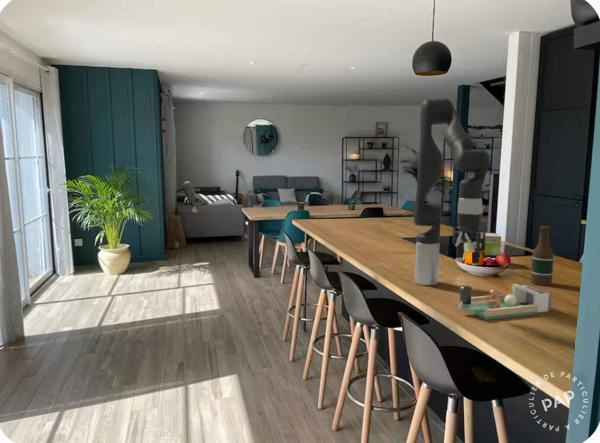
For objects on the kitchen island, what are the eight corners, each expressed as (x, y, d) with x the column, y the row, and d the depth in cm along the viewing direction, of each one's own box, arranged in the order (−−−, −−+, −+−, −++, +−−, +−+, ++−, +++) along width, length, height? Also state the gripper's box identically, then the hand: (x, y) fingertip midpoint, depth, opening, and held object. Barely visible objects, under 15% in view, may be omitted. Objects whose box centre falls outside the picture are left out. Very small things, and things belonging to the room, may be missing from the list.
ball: (501, 304, 164) (502, 293, 164) (511, 303, 165) (511, 292, 165) (509, 308, 160) (510, 297, 160) (519, 307, 161) (519, 296, 161)
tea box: (467, 265, 229) (468, 234, 227) (463, 260, 239) (464, 231, 236) (499, 266, 226) (501, 235, 224) (494, 261, 236) (496, 232, 234)
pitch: (460, 306, 166) (460, 298, 165) (508, 301, 171) (508, 293, 171) (485, 319, 152) (486, 310, 152) (537, 314, 158) (537, 305, 157)
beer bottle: (526, 282, 197) (529, 225, 194) (540, 280, 200) (544, 224, 197) (541, 286, 190) (545, 228, 187) (556, 284, 193) (560, 227, 190)
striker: (455, 307, 160) (456, 285, 159) (491, 303, 164) (492, 282, 163) (464, 311, 155) (465, 289, 154) (501, 308, 159) (502, 285, 158)
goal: (511, 302, 170) (513, 283, 169) (526, 301, 172) (527, 282, 171) (535, 312, 159) (536, 292, 158) (550, 311, 161) (552, 291, 160)
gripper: (447, 209, 159) (445, 256, 161) (473, 214, 146) (470, 266, 148) (466, 209, 161) (464, 255, 163) (493, 213, 148) (491, 264, 150)
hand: (467, 260), depth 156 cm, fingers open, 8 cm apart
